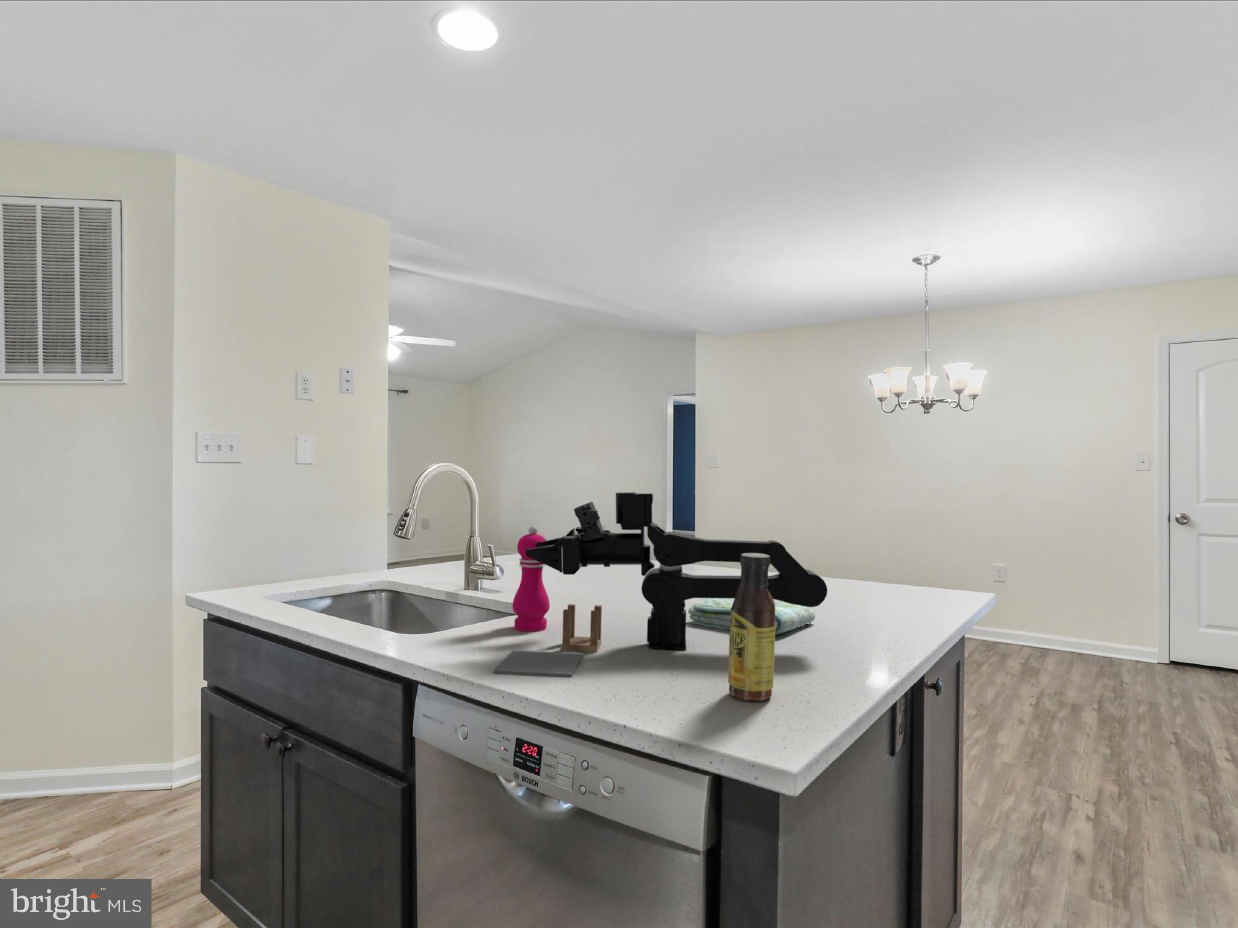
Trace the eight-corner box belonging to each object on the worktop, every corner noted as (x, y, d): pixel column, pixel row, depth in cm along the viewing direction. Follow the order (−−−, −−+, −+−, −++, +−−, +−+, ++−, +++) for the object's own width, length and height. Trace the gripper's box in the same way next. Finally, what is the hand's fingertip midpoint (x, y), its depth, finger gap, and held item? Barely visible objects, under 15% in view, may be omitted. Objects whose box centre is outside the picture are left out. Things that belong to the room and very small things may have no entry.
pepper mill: (552, 624, 140) (554, 525, 140) (544, 632, 132) (547, 527, 133) (516, 623, 140) (519, 523, 141) (507, 631, 133) (510, 526, 133)
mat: (582, 656, 116) (582, 653, 116) (571, 676, 104) (571, 674, 104) (512, 652, 117) (512, 650, 117) (493, 672, 105) (493, 670, 105)
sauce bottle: (723, 689, 100) (726, 551, 100) (765, 689, 101) (768, 551, 101) (734, 704, 94) (737, 556, 94) (779, 704, 94) (783, 557, 94)
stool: (600, 644, 125) (601, 605, 125) (596, 652, 119) (597, 611, 119) (567, 642, 126) (568, 604, 126) (562, 651, 120) (563, 610, 120)
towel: (725, 612, 159) (725, 589, 159) (816, 625, 147) (816, 601, 147) (684, 624, 144) (685, 600, 144) (781, 641, 132) (782, 614, 132)
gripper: (619, 500, 135) (540, 501, 137) (610, 508, 117) (518, 509, 118) (620, 557, 136) (541, 557, 137) (611, 575, 117) (520, 575, 118)
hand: (531, 549), depth 127 cm, fingers open, 9 cm apart
